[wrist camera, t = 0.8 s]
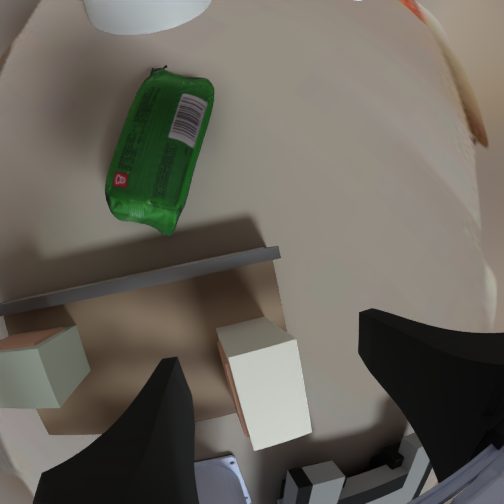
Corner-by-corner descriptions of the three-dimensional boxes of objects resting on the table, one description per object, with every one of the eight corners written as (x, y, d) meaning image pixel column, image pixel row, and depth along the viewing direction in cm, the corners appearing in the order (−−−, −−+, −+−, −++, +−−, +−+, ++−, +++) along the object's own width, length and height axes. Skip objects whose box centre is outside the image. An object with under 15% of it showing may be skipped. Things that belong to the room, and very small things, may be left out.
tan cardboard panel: (295, 390, 27) (307, 404, 24) (52, 430, 22) (41, 445, 18) (266, 245, 27) (277, 244, 24) (5, 301, 21) (-13, 305, 18)
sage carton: (90, 370, 22) (60, 407, 14) (29, 376, 21) (-10, 407, 13) (75, 322, 22) (36, 345, 14) (14, 332, 20) (-31, 352, 13)
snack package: (220, 93, 27) (226, 64, 22) (180, 239, 26) (177, 234, 21) (155, 81, 25) (151, 51, 20) (107, 223, 24) (88, 215, 19)
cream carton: (264, 316, 26) (296, 338, 18) (280, 391, 26) (312, 432, 18) (213, 329, 25) (224, 358, 17) (233, 404, 25) (250, 451, 17)
